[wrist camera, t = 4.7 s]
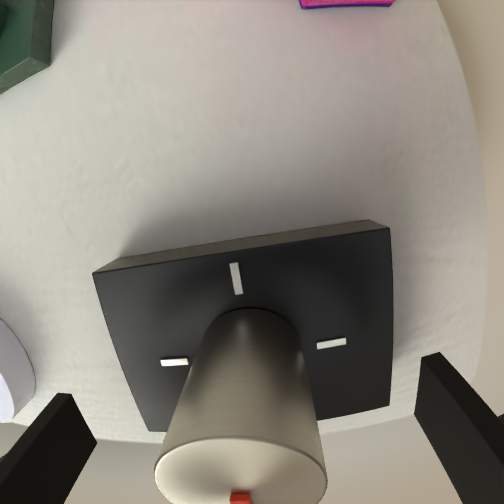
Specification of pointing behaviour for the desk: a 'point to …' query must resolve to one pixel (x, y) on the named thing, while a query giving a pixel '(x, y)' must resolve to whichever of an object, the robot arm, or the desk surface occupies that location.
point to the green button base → (24, 39)
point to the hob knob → (244, 420)
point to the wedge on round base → (13, 375)
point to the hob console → (264, 298)
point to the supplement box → (342, 3)
